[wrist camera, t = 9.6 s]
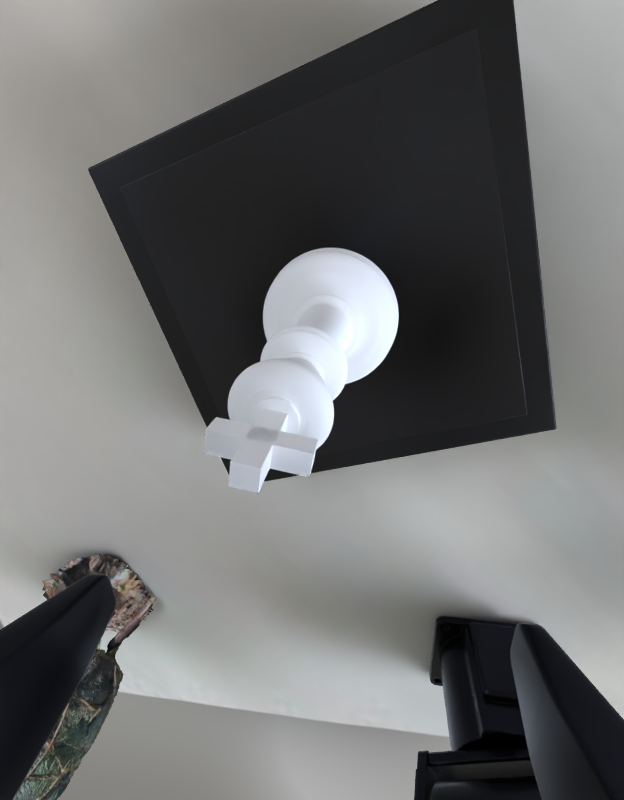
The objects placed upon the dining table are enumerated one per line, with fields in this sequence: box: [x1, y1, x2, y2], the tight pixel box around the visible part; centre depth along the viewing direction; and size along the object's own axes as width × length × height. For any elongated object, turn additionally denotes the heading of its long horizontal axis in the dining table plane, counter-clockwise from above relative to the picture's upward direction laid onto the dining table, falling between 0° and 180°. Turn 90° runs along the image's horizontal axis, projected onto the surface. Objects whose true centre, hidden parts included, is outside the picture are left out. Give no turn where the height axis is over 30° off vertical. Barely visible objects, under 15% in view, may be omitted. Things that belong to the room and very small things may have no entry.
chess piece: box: [204, 248, 399, 494], centre depth 10 cm, size 5×5×10 cm
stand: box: [88, 0, 556, 481], centre depth 16 cm, size 14×14×4 cm
